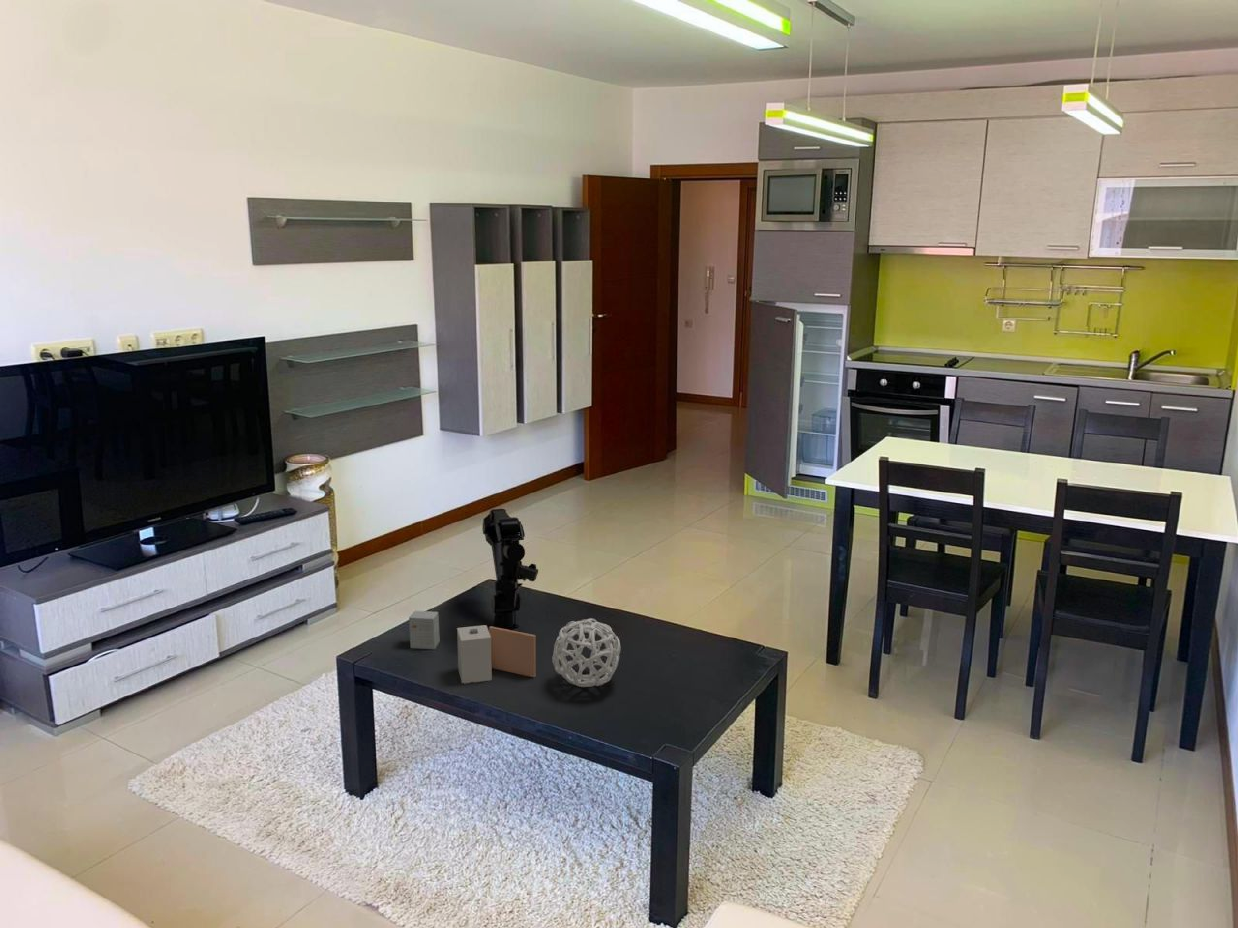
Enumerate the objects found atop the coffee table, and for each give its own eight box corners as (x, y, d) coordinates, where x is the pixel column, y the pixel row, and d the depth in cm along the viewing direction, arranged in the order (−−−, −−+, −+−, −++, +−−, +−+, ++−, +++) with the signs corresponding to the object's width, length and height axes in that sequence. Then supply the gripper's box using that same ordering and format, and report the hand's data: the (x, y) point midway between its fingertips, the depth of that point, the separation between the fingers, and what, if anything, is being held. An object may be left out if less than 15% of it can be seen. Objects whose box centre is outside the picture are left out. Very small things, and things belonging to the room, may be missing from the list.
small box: (440, 642, 293) (439, 611, 291) (435, 649, 288) (434, 618, 285) (415, 640, 294) (414, 610, 291) (410, 648, 288) (408, 617, 286)
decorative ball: (541, 694, 261) (541, 632, 256) (564, 664, 280) (564, 605, 275) (609, 705, 256) (610, 641, 251) (627, 673, 274) (629, 614, 270)
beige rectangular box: (457, 667, 276) (456, 623, 272) (486, 664, 278) (485, 620, 275) (462, 683, 267) (461, 638, 263) (491, 680, 269) (491, 634, 265)
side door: (491, 666, 277) (490, 626, 274) (535, 675, 272) (535, 635, 268) (489, 667, 276) (489, 627, 273) (534, 677, 271) (533, 636, 268)
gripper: (529, 561, 280) (532, 612, 280) (540, 553, 299) (543, 600, 299) (493, 562, 281) (496, 613, 282) (507, 554, 300) (509, 601, 300)
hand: (512, 607), depth 291 cm, fingers closed
